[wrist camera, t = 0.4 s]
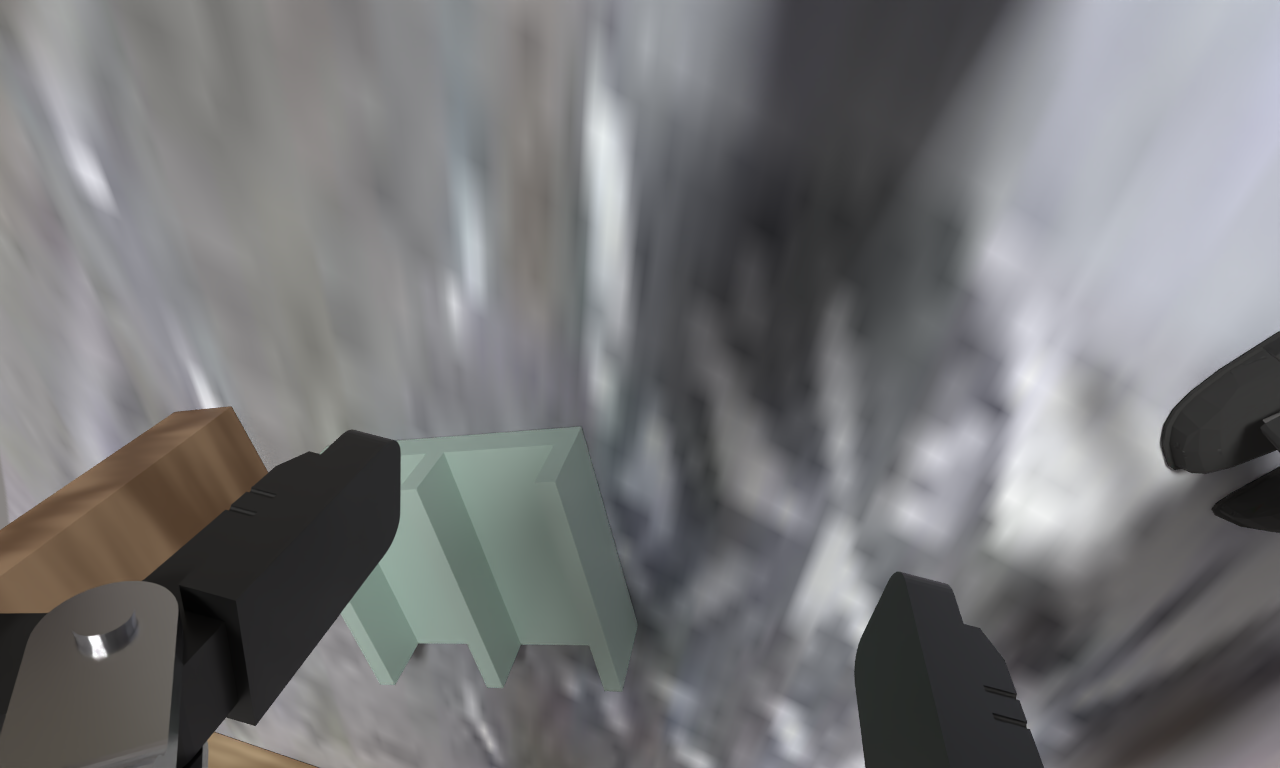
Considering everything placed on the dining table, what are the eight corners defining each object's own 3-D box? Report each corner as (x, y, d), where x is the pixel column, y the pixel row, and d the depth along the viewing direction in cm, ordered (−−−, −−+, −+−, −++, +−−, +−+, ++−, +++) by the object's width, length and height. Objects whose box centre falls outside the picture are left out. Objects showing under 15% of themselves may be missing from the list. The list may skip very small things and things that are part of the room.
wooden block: (231, 406, 37) (-29, 597, 25) (279, 492, 40) (64, 701, 28) (174, 412, 38) (-101, 598, 26) (225, 495, 41) (-4, 698, 29)
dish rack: (581, 426, 34) (555, 481, 30) (637, 625, 40) (622, 691, 36) (327, 445, 38) (275, 497, 34) (415, 624, 44) (380, 684, 40)
